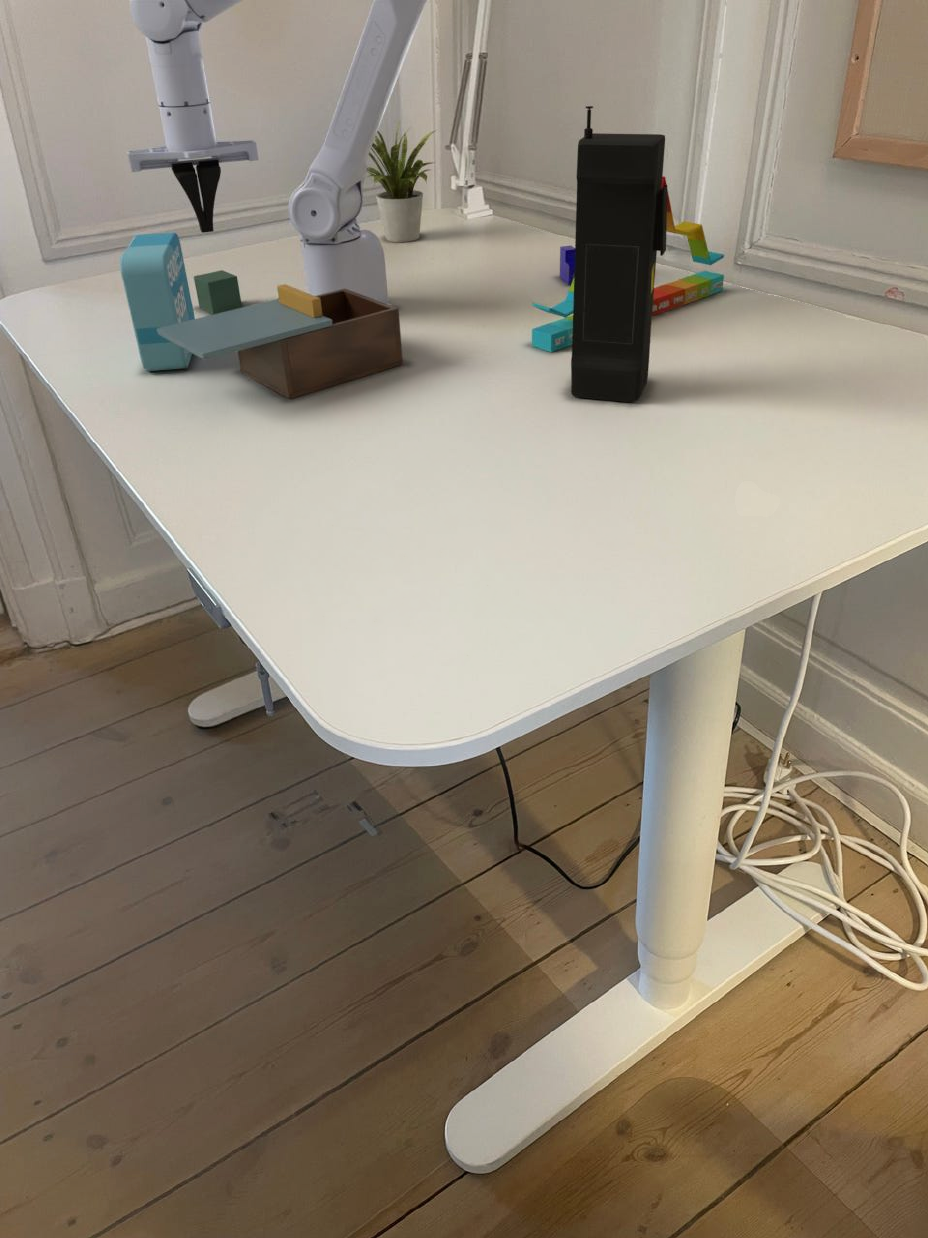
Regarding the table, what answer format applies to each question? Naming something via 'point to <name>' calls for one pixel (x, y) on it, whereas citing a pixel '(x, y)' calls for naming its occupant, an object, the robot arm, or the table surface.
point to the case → (329, 347)
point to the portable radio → (616, 261)
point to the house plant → (399, 189)
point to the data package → (157, 297)
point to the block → (217, 292)
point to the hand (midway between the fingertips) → (207, 230)
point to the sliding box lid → (249, 325)
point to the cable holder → (567, 264)
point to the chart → (664, 296)
